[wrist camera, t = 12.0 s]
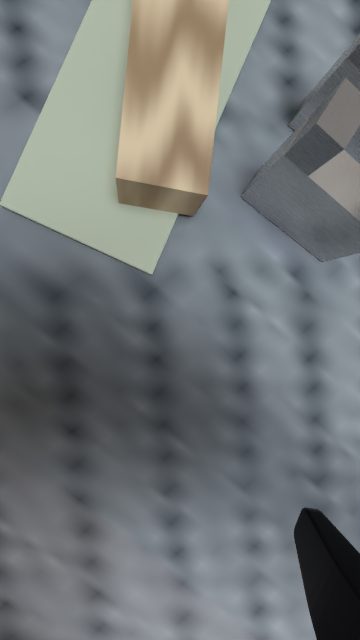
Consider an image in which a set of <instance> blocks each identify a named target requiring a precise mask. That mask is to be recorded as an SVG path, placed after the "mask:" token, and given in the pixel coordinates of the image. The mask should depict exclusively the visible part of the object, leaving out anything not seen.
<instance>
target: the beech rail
mask: <svg viewBox="0 0 360 640" xmlns="http://www.w3.org/2000/svg"><path fill="white" fill-rule="evenodd" d="M228 4H229V0H133V6H132V16H131V26H130V37H129V47H128V57H127V67H126V77H125V88H124V98H123V108H122V118H121V128H120V139H119V149H118V159H117V169H116V185H117V193H118V201H119V203H121V204H126V205H132V206H138V207H144V208H149V209H155V210H161V211H167V212H172V213H178V214H184V215H190V216H194V215H195V213H196V212H197V210H198V209H199V208H200V206H201V205H202V203H203V202H204V200H205V199H206V197H207V196H208V190H209V180H210V171H211V162H212V153H213V143H214V134H215V125H216V116H217V106H218V97H219V88H220V79H221V69H222V60H223V51H224V41H225V32H226V23H227V14H228Z"/></svg>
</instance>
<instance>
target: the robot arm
mask: <svg viewBox="0 0 360 640" xmlns="http://www.w3.org/2000/svg"><path fill="white" fill-rule="evenodd" d="M294 539H295V544H296V549H297V554H298V559H299V564H300V569H301V574H302V579H303V584H304V589H305V594H306V599H307V603H308V608H309V612H310V616H311V620H312V624H313V627H314V631H315V634H316V638H317V640H360V553H359V552H358V551H357V550H356V549H355V548H354V547H353V546H352V545H351V543H350V542H349V541H348V540H347V539H346V538H345V537H344V536H343V535H342V534H341V533H340V531H339V530H338V529H337V528H336V527H335V526H334V525H333V524H332V523H331V522H330V521H329V520H328V518H327V517H326V516H325V515H324V514H323V513H322V512H321V511H319V510H318V509H313V508H303V509H302V510H301V513H300V515H299V518H298V520H297V523H296V525H295V528H294Z"/></svg>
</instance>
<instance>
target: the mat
mask: <svg viewBox="0 0 360 640" xmlns="http://www.w3.org/2000/svg"><path fill="white" fill-rule="evenodd" d="M270 2H271V0H229V4H228V14H227V23H226V32H225V41H224V51H223V60H222V69H221V79H220V88H219V97H218V106H217V116H216V125H215V128H216V126H217V124H218V122H219V119H220V117H221V115H222V112H223V110H224V108H225V105H226V103H227V101H228V98H229V96H230V94H231V92H232V89H233V87H234V85H235V82H236V80H237V78H238V75H239V73H240V71H241V69H242V66H243V64H244V62H245V59H246V57H247V55H248V52H249V50H250V48H251V46H252V43H253V41H254V39H255V36H256V34H257V32H258V29H259V27H260V25H261V23H262V20H263V18H264V16H265V13H266V11H267V9H268V6H269V4H270ZM132 6H133V0H92V1H91V4H90V6H89V8H88V10H87V12H86V15H85V17H84V19H83V21H82V23H81V26H80V28H79V30H78V32H77V34H76V37H75V39H74V41H73V43H72V45H71V48H70V50H69V52H68V54H67V56H66V59H65V61H64V63H63V65H62V67H61V70H60V72H59V74H58V76H57V78H56V81H55V83H54V85H53V87H52V89H51V92H50V94H49V96H48V98H47V100H46V103H45V105H44V107H43V109H42V111H41V114H40V116H39V118H38V120H37V122H36V125H35V127H34V129H33V131H32V133H31V136H30V138H29V140H28V142H27V144H26V147H25V149H24V151H23V153H22V155H21V158H20V160H19V162H18V164H17V166H16V169H15V171H14V173H13V175H12V177H11V180H10V182H9V184H8V186H7V188H6V191H5V193H4V195H3V197H2V199H1V202H0V205H1V206H2V207H3V208H6V209H8V210H10V211H12V212H14V213H17V214H19V215H21V216H23V217H25V218H27V219H30V220H32V221H34V222H36V223H38V224H40V225H43V226H45V227H47V228H49V229H51V230H54V231H56V232H58V233H60V234H62V235H64V236H67V237H69V238H71V239H73V240H75V241H78V242H80V243H82V244H84V245H86V246H88V247H91V248H93V249H95V250H97V251H99V252H102V253H104V254H106V255H108V256H110V257H112V258H115V259H117V260H119V261H121V262H123V263H126V264H128V265H130V266H132V267H134V268H136V269H139V270H141V271H143V272H145V273H147V274H150V275H152V274H153V271H154V269H155V267H156V264H157V262H158V260H159V257H160V255H161V253H162V250H163V248H164V246H165V244H166V241H167V239H168V237H169V234H170V232H171V230H172V227H173V225H174V223H175V221H176V218H177V216H178V213H172V212H167V211H161V210H155V209H149V208H144V207H138V206H132V205H126V204H121V203H119V201H118V193H117V185H116V169H117V159H118V149H119V139H120V128H121V118H122V108H123V98H124V88H125V77H126V67H127V57H128V47H129V37H130V26H131V16H132Z"/></svg>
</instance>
